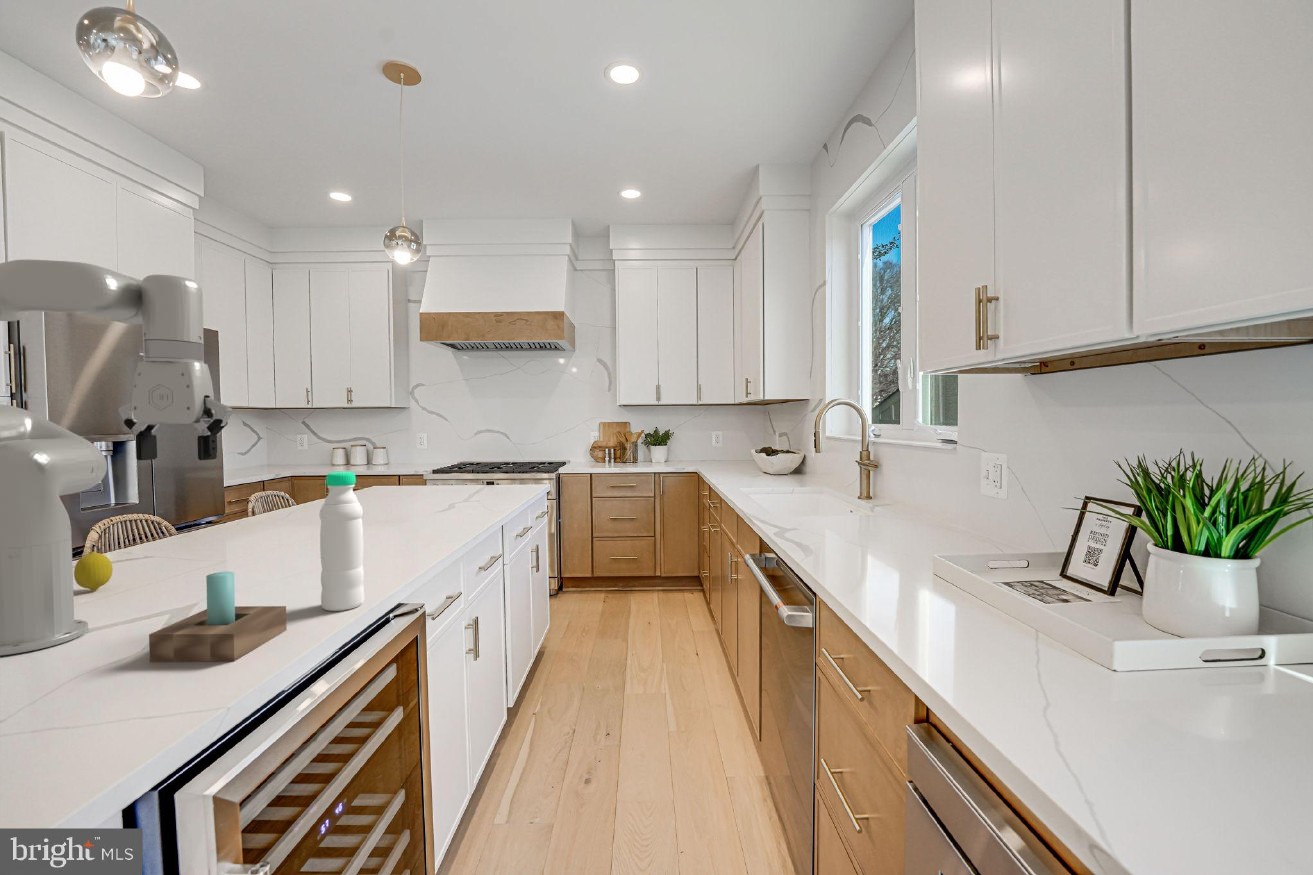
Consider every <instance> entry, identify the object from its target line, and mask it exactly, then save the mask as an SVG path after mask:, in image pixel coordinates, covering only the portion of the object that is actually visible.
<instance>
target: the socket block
mask: <svg viewBox="0 0 1313 875" xmlns="http://www.w3.org/2000/svg"><path fill="white" fill-rule="evenodd" d="M286 631H287V606H285V605H282V606H281V605H280V606H279V605H278V606H277V605H273V606H272V605H269V606H268V605H267V606H266V605H263V606H262V605H258V606H255V605H254V606H253V605H252V606H248V605H247V606H240V605H239V606H238V605H237V606H236V605H235V622H233V623H231V624H229V625H207V608H206V609H204V610H202V611H199V612H196V613H195V614H192V615H190V616H188V617H186V618H185V617H184V618H183V619H181V620H178V621H176V622H174V623H172V624H170V625H167V626H165V627H162V628H160V629H158V630H156V631H153V632H151V633H149V634H148V643H149V644H148V646H149V647H148V649H149V662H150V663H151V662H152V663H154V662H155V663H157V662H158V663H166V662H168V663H170V662H175V663H176V662H179V663H180V662H181V663H182V662H184V663H185V662H235V661H237V660H239V659H241V658H242V657H244V656H245V655H248V654H249V653H250V652H252V651H254V650H256V649H257V648H259V647H261V646H263V645H265V643H267V642H269V641H271V640H273V639H275V638H276V637H277V636H279V635H281V634H283V633H285V632H286Z"/></svg>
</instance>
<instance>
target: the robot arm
mask: <svg viewBox="0 0 1313 875" xmlns="http://www.w3.org/2000/svg"><path fill="white" fill-rule="evenodd" d="M203 301H204V300H203V289H202V287H201V285H200V284H199V283H198V282H197V281H195V280H193V279H190V278H188V277H184V276H178V275H177V276H176V275H172V274H171V275H170V274H169V275H168V274H150V275H147V276H145V277H143V279H139V278H136V277H132V276H129V275H125V274H122V273H120V272H117V271H114V270H111V269H109V268H105V267H102V266H100V265H96V264H92V263H87V262H80V261H79V262H78V261H67V260H66V261H65V260H50V259H49V260H48V259H47V260H46V259H13V260H9V261H5V262H0V322H17V321H19V320H22V319H24V318H26V317H27V316H28V315H29V314H30V312H37V313H38V312H41V313H42V312H43V313H44V312H45V313H65V314H66V313H67V314H69V313H70V314H71V313H72V314H79V315H80V314H81V315H85V316H91V317H96V318H100V319H105V320H109V321H112V322H115V323H116V322H117V323H121V324H125V325H126V324H127V325H128V324H129V325H142V326H141V327H142V347H141V346H140V347H139V348H138V350H137V352H138V354H139V355H140V356H143V361H138V362H137V365H136V369H135V372H134V378H133V386H132V395H131V398H132V399H131V402H128V403H126V404H125V405H122V406H120V407H119V408H118V413H119V415H120V417H121V419H122V420H123V424H124V426H126V428H128V430H130V434H131V435H132V436H135V454H136V455H135V456H136V460H137V461H151V460H156V459H158V444H157V443H158V441H157V440H158V437H157V434H153V433H154V432H155V431H156V429H157V428H158V427H159V426H160V425H162V424H163V425H181V424H183V425H185V424H191V425H193V426H194V427H195V428H196V429H197V431H198V432H199V433H201V435H197V439H196V440H197V460H199V461H210V460H212V461H213V460H216V459H217V456H218V455H217V454H218V436H219V435H221V433H222V430H223V429H224V428H225V427H226V426H227V425H228V421H229V420H230V418H231V416H232V413H233V408H231V407H229V406H227V405H225V404H224V403H221V402H220V401H217V400H216V399H215V397H214V396H215V395H214V394H215V393H214V388H213V381H212V380H213V379H212V376H211V372H210V369H209V365H208V364H207V363H205V351H204V350H205V348H204V347H205V345H204V309H203V306H204V303H203ZM215 412H216V417H215ZM106 459H107V458H106V456H105V455H104V453H103V452H102V451H101V449H100V448H98V446H97V445H95V444H94V443H93V442H91V441H90V440H88V439H87V438H86V439H85V438H84V437H82V436H80V435H78V434H76V433H74V432H72V431H70V430H68V429H66V428H64V427H62V426H60V425H58V424H57V423H55V422H52V421H50V420H48V419H46V418H44V417H42V416H41V415H38V414H37V413H34V412H32V411H29V410H27V409H24V408H21V407H18V406H15V405H8V404H2V403H0V657H1V656H9V655H14V654H21V653H28V652H32V651H38V650H43V649H46V648H50V647H54V646H57V645H61V644H64V643H66V642H69V641H72V640H75V639H77V638H79V637H81V636H83V635H84V634H85V633H87V632H88V631H89V622H87V621H85V620H82V619H75V601H74V600H75V599H74V570H73V547H72V546H73V543H72V542H73V541H72V525H71V520H70V516H69V513H68V511H67V509H66V507H65V505H64V503H63V501H62V500H61V498H60V496H64V495H67V496H68V495H72V494H77V493H81V492H84V491H87V490H90V489H92V488H93V487H95V486H97V485H98V484H100V482H101V481H102V480H103V479H104V478H105V476H106V474H107V470H108V464H107V460H106Z"/></svg>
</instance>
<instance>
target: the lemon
mask: <svg viewBox="0 0 1313 875" xmlns="http://www.w3.org/2000/svg"><path fill="white" fill-rule="evenodd" d="M112 575H113V564H112V561H111V559H110V558H109V557H108V556H106V555H105V554H103V553H98V552H96V551H90V552H89V553H87V554H86V555H84V556H82V557H81V558H80V559H79V560H78V561H77V562H76V564H75V566H74V570H73V579H74V580H75V582H76V584H77V585H79V587H80V588H84V589H88V590H89V591H91V592H95V591H97V590H98V589H100V587H102V586H105V585H107V583H108V582H110V579H111V578H112Z"/></svg>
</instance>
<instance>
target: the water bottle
mask: <svg viewBox="0 0 1313 875" xmlns="http://www.w3.org/2000/svg"><path fill="white" fill-rule="evenodd" d="M325 483H326V486H327V487H326V488H328V491H329V492H328V494H327V495H326V497H325V499H324V503H323V504H322V505H321V508H320V510H319V519H320V529H319V531H320V532H319V544H320V546H319V548H320V549H319V550H320V554H319V555H320V563H321V573H320V584H321V595H320V600H321V601H320V603H321V604H320V606H321V608H322V609H323V610H325V611H326V612H327V611H328V612H341V611H342V612H343V611H347V610H352V609H355V608H357V607H358V608H359V607H360V606H361V605H362V604H363V603H364V601H365V589H364V576H365V575H364V574H365V572H364V566H363V561H364V527H363V519H362V516H363V513H364V512H363V510H364V509H363V507H362V505H361V504H360V502H359V499H358V497H357V496H356V494H355V493H354V490H353V489H354V487H355V486H356V485H355V484H356V474H355V473H354V472H351V471H350V472H349V471H339V472H330V473H328V474H326V478H325Z"/></svg>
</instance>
